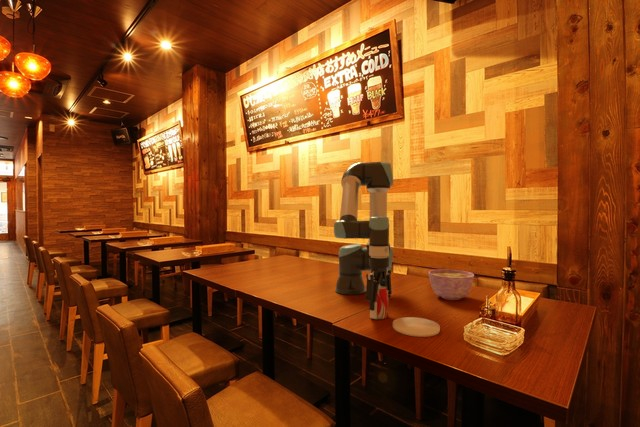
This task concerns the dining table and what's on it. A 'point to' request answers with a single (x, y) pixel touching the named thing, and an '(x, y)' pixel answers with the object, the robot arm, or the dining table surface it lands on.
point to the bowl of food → (451, 283)
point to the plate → (416, 327)
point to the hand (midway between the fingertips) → (379, 315)
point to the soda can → (382, 302)
